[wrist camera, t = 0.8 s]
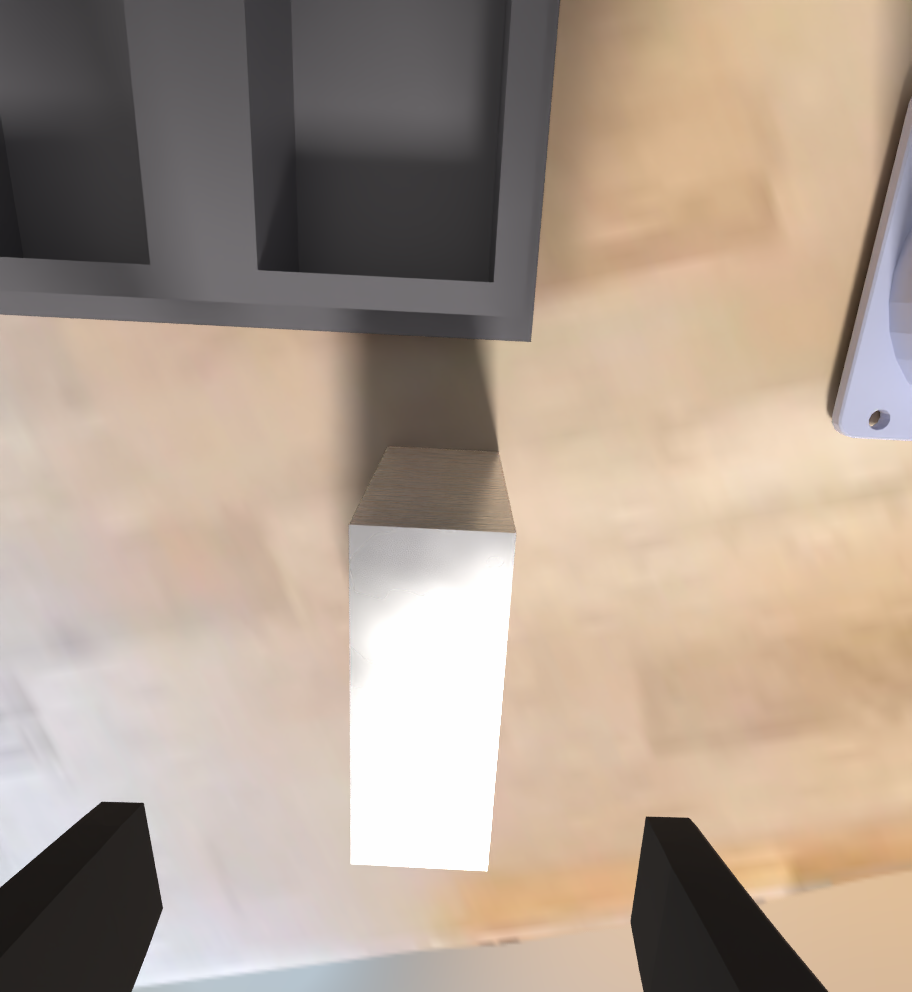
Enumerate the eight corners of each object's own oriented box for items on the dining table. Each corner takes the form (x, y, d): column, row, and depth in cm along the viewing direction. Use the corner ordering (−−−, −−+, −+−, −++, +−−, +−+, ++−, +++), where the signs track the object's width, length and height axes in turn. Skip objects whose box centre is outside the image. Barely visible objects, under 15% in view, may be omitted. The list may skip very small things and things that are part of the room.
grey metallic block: (498, 450, 17) (516, 532, 11) (480, 699, 19) (487, 871, 14) (388, 445, 17) (348, 525, 11) (384, 694, 19) (350, 864, 14)
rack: (580, -303, 12) (634, -582, 8) (526, 339, 16) (546, 354, 12) (-95, -338, 12) (-358, -633, 8) (16, 312, 16) (-128, 319, 12)
